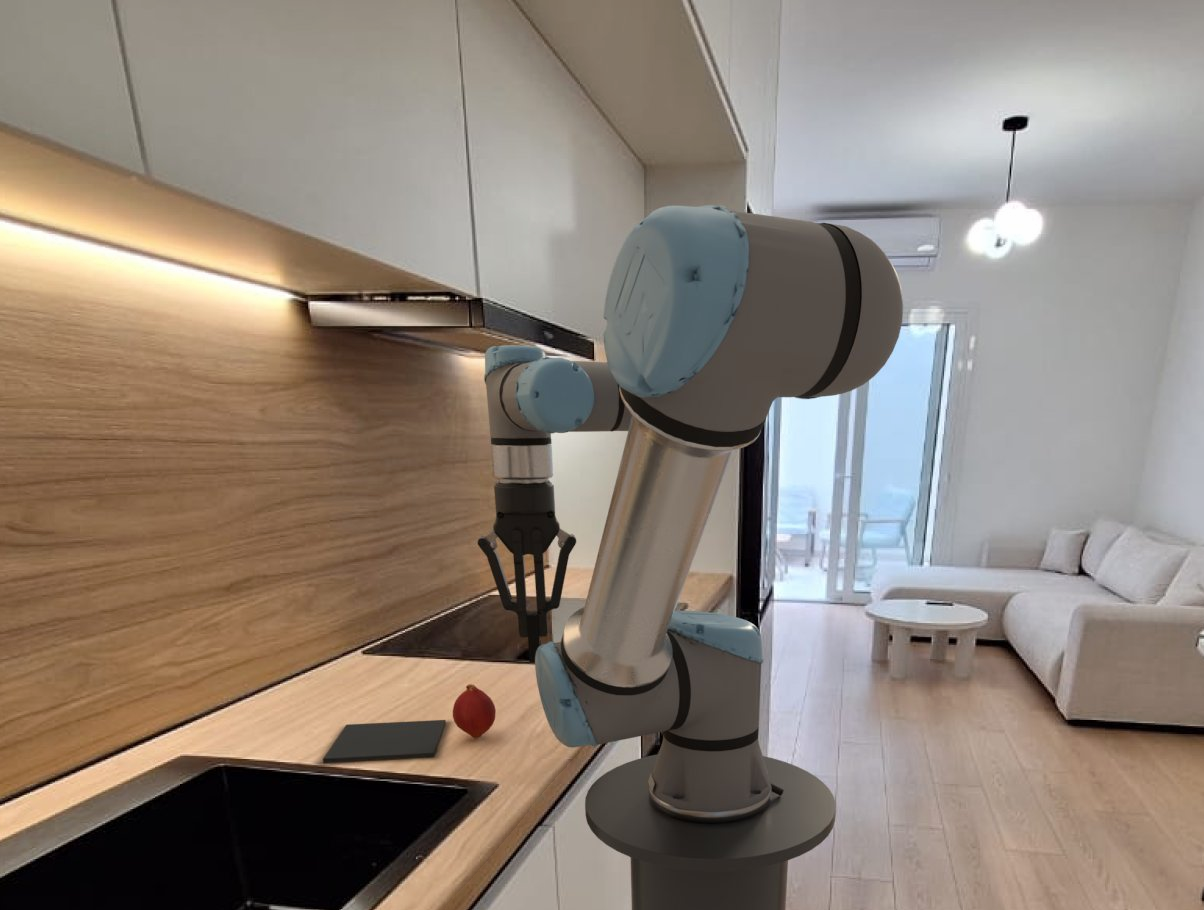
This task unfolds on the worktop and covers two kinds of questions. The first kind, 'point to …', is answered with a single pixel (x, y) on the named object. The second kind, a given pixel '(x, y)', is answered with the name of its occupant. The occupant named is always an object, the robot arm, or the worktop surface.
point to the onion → (474, 711)
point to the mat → (386, 741)
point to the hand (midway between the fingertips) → (535, 659)
